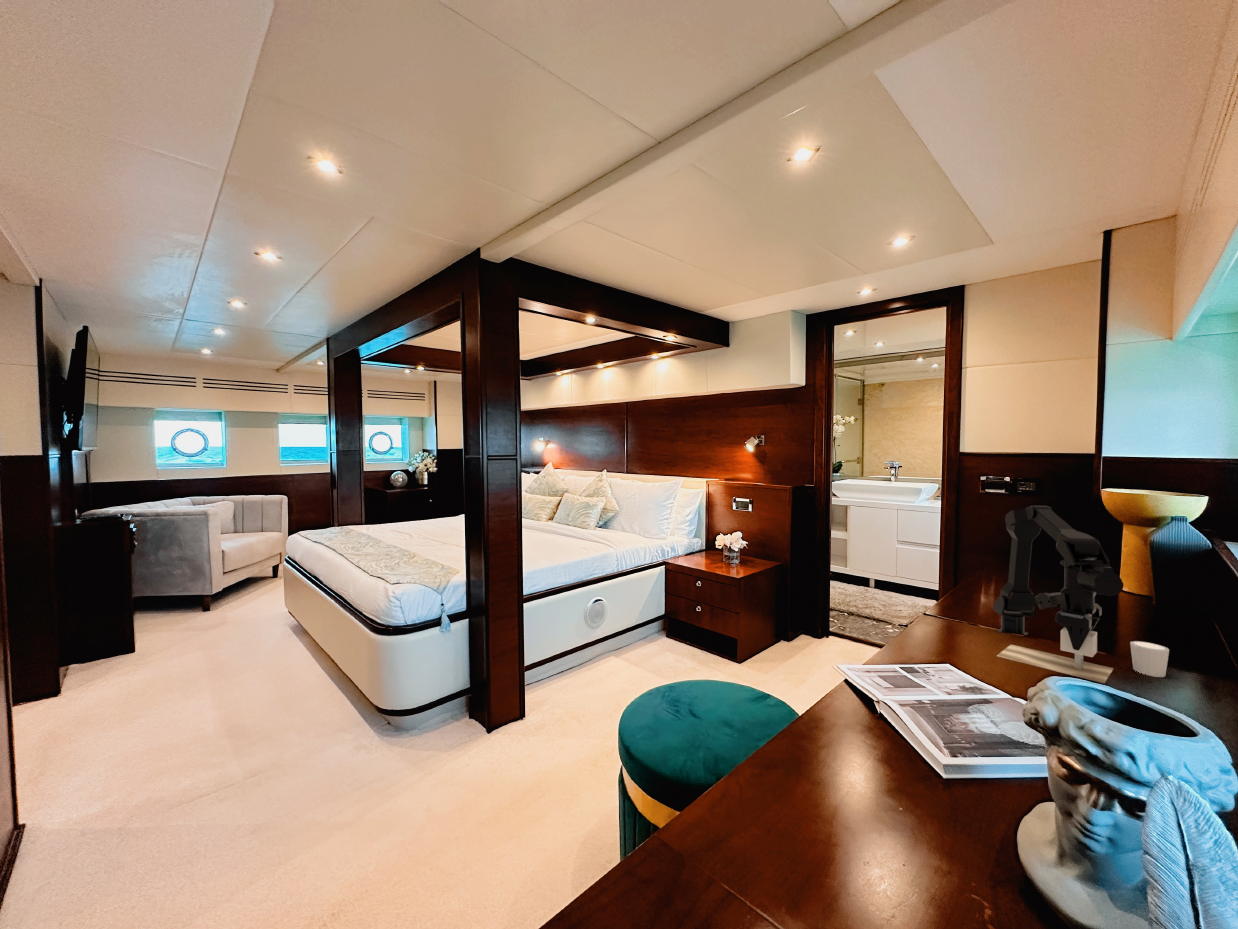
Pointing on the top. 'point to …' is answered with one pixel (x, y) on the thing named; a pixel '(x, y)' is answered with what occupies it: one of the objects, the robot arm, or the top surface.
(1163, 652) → the shot glass
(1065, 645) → the box
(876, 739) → the top surface
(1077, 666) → the post
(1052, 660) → the maple board
